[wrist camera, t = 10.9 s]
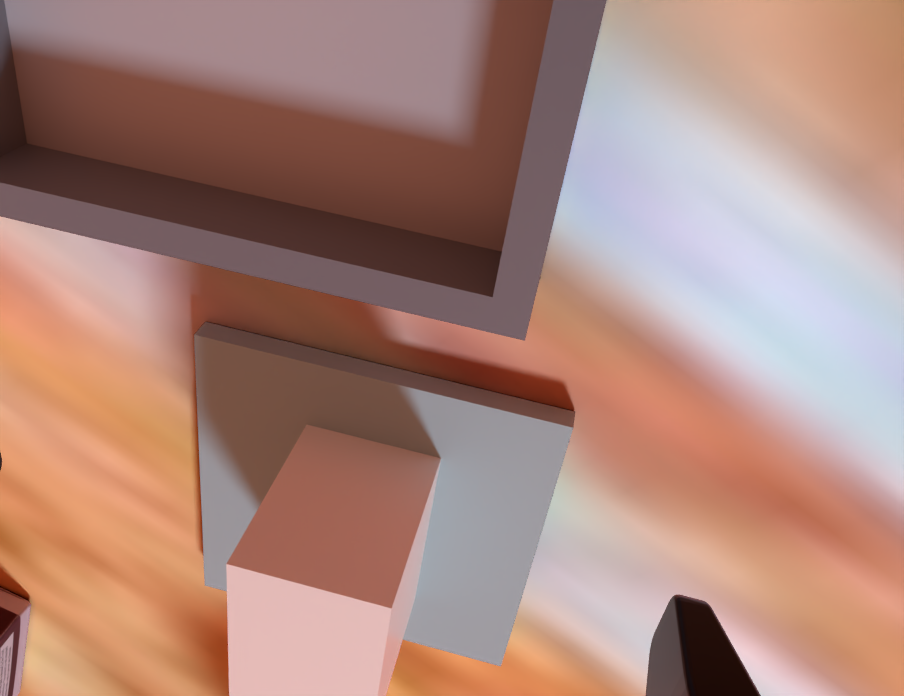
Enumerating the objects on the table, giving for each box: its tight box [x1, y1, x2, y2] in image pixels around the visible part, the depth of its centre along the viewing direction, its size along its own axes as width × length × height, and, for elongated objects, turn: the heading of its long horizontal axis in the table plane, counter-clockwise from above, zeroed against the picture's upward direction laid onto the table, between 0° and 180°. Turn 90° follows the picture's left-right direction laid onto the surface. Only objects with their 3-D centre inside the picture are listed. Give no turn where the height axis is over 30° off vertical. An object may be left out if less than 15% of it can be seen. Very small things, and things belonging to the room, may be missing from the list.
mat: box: [194, 322, 575, 666], centre depth 28 cm, size 12×12×1 cm
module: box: [226, 425, 441, 696], centre depth 25 cm, size 4×7×6 cm, turn 173°
